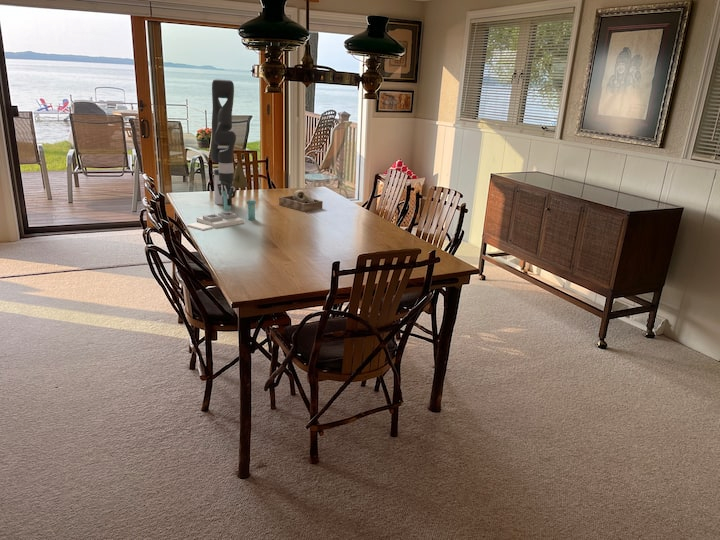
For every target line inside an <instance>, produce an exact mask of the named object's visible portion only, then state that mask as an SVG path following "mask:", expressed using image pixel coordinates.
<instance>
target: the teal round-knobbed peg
mask: <svg viewBox="0 0 720 540" xmlns="http://www.w3.org/2000/svg"><path fill="white" fill-rule="evenodd" d="M246 204H247V216H248V217H247V220H248V221H255V220H256V204H257V200H255V199H248V200H246Z"/></svg>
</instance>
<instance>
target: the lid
mask: <svg viewBox="0 0 720 540" xmlns="http://www.w3.org/2000/svg"><path fill="white" fill-rule="evenodd" d="M186 226H187V227H189V228H193V229H196V230H200V231H206V230H212V229H214V227H212V226H208V225H206V224H203V223H200V222H197V221H196V222H192V223H187V224H186Z"/></svg>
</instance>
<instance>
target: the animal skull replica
mask: <svg viewBox="0 0 720 540" xmlns="http://www.w3.org/2000/svg"><path fill="white" fill-rule="evenodd" d="M292 195H293V199H294V201H297V202H301V203H305V204H306V203H312V202H314V200H313V199H314V198H313V197H312V195H311V194H310V193H309V192H308V190H304V189H298V190H296V191H294V193H293V194H292Z"/></svg>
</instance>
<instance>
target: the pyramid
mask: <svg viewBox="0 0 720 540" xmlns="http://www.w3.org/2000/svg"><path fill="white" fill-rule="evenodd" d="M232 184H233V187H236V189H237V188H238V189H243V188H244V189H245V188H249V183H248V180H247V179H246V176H245V172H244V170H243V168H242V165H241V162H240V160H238V162H237V164H236V167H235V169H234V181H233V182H232Z"/></svg>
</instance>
